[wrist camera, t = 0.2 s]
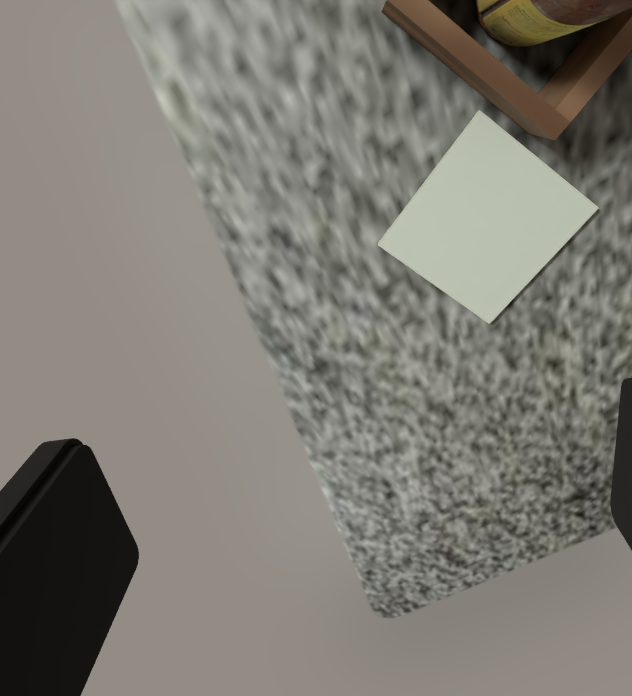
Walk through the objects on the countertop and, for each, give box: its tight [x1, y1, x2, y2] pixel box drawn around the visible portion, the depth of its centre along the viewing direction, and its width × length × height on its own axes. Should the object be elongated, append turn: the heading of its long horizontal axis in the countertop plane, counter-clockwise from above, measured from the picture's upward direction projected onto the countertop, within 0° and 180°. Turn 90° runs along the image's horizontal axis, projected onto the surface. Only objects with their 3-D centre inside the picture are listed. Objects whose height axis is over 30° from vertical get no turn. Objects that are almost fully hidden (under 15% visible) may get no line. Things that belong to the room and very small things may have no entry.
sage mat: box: [378, 110, 598, 324], centre depth 37 cm, size 11×11×1 cm
